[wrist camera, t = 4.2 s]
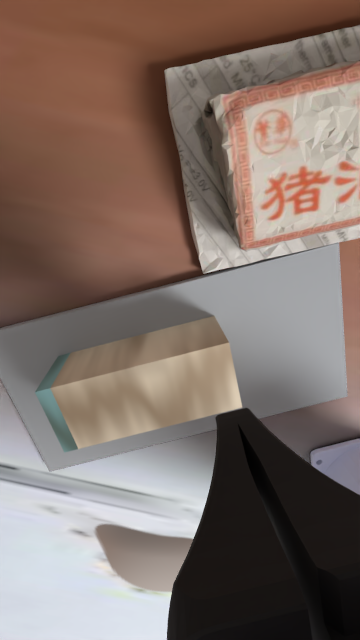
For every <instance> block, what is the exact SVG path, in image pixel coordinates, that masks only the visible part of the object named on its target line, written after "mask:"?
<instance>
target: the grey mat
mask: <svg viewBox="0 0 360 640" xmlns="http://www.w3.org/2000/svg"><path fill="white" fill-rule="evenodd" d="M212 316H215V318H216V320H217V322H218V323H219V325H220V327H221V329H222V331H223V332H224V334H225V336H226V338H227V340H228V341H229V345H230V349H231V354H232V359H233V364H234V369H235V374H236V379H237V383H238V388H239V393H240V398H241V403H242V408H238V409H234V410H231V411H235V410H239V409H243V408H249V409H250V410H251V411H252V413H253V414H254V415H255V416H256V417H257V418H258V419H260V418H264V417H268V416H272V415H276V414H280V413H284V412H288V411H292V410H296V409H299V408H303V407H307V406H311V405H315V404H319V403H323V402H327V401H331V400H335V399H339V398H343V397H347V379H346V361H345V343H344V325H343V307H342V289H341V272H340V254H339V243H334V244H330V245H326V246H322V247H317V248H313V249H309V250H304V251H300V252H296V253H291V254H287V255H282V256H278V257H273V258H268V259H265V260H261V261H257V262H253V263H249V264H245V265H241V266H238V267H234V268H230V269H226V270H222V271H218V272H214V273H211V274H207V275H203V276H199V277H195V278H191V279H187V280H183V281H180V282H176V283H172V284H168V285H164V286H160V287H156V288H153V289H149V290H145V291H141V292H137V293H133V294H129V295H126V296H122V297H118V298H114V299H110V300H106V301H102V302H98V303H95V304H91V305H87V306H83V307H79V308H75V309H71V310H68V311H64V312H60V313H56V314H52V315H48V316H44V317H41V318H37V319H33V320H29V321H25V322H21V323H17V324H13V325H10V326H6V327H2V328H0V379H1V380H2V382H3V384H4V386H5V388H6V390H7V392H8V394H9V396H10V397H11V399H12V401H13V403H14V405H15V407H16V409H17V411H18V413H19V415H20V416H21V418H22V420H23V422H24V424H25V426H26V428H27V430H28V432H29V433H30V435H31V437H32V439H33V441H34V443H35V445H36V447H37V449H38V451H39V452H40V454H41V456H42V458H43V460H44V462H45V464H46V466H47V468H48V470H49V471H54V470H58V469H62V468H66V467H70V466H74V465H78V464H82V463H86V462H90V461H94V460H98V459H102V458H106V457H110V456H114V455H118V454H122V453H126V452H130V451H133V450H137V449H141V448H145V447H149V446H153V445H157V444H161V443H165V442H169V441H173V440H177V439H181V438H185V437H189V436H193V435H197V434H201V433H205V432H209V431H213V430H216V429H217V424H216V419H215V418H216V416H217V415H219V414H223V413H227V412H231V411H227V412H223V413H219V414H215V415H211V416H207V417H203V418H199V419H195V420H191V421H187V422H183V423H179V424H175V425H171V426H167V427H163V428H160V429H156V430H152V431H148V432H144V433H140V434H136V435H132V436H128V437H124V438H120V439H116V440H112V441H108V442H104V443H100V444H96V445H92V446H89V447H85V448H81V449H77V450H73V451H69V452H65V453H64V451H63V449H62V447H61V445H60V443H59V441H58V439H57V437H56V435H55V432H54V430H53V428H52V426H51V424H50V422H49V420H48V418H47V416H46V414H45V412H44V410H43V408H42V406H41V404H40V402H39V400H38V398H37V396H36V394H35V391H36V390H37V388H38V386H39V385H40V383H41V382H42V380H43V379H44V377H45V376H46V374H47V373H48V371H49V370H50V368H51V366H52V365H53V363H54V362H55V360H56V359H57V357H58V356H60V355H64V354H68V353H72V352H76V351H80V350H83V349H87V348H91V347H95V346H99V345H103V344H107V343H111V342H115V341H118V340H122V339H126V338H130V337H134V336H138V335H142V334H146V333H150V332H153V331H157V330H161V329H165V328H169V327H173V326H177V325H181V324H185V323H188V322H192V321H196V320H200V319H204V318H208V317H212Z"/></svg>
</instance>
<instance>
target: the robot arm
mask: <svg viewBox="0 0 360 640" xmlns="http://www.w3.org/2000/svg"><path fill="white" fill-rule="evenodd" d="M215 419H216V424H217V445H216V456H215V463H214V469H213V476H212V481H211V485H210V490H209V494H208V498H207V501H206V505H205V508H204V511H203V515H202V518H201V521H200V524H199V526H198V529H197V532H196V534H195V537H194V539H193V542H192V544H191V547H190V550H189V552H188V554H187V557H186V559H185V561H184V563H183V565H182V567H181V569H180V571H179V574H178V575H177V578H176V580H175V582H174V584H173V590H172V595H171V601H170V608H169V615H168V629H167V640H360V438H359V439H355V440H351V441H347V442H343V443H339V444H335V445H331V446H327V447H323V448H319V449H315V450H313V451H312V452H311V454H310V457H311V465H310V464H309V463H308V462H306V461H305V460H304V459H302V458H301V457H300V456H298V455H297V454H296V453H295V452H293V451H292V450H291V449H290V448H288V447H287V446H286V445H285V444H284V443H283V442H281V441H280V440H279V439H278V438H277V437H276V436H275V435H274V434H273V433H272V432H270V431H269V430H268V429H267V428H266V427H265V426H264V425H263V424H262V423H261V422H260V420H259V419H258V418H257V417H256V416H255V415H254V414H253V413H252V411H251V410H250V409H249V408H243V409H239V410H235V411H231V412H227V413H223V414H219V415H217V416H216V418H215ZM317 460H318V461H317Z"/></svg>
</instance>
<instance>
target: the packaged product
mask: <svg viewBox="0 0 360 640" xmlns="http://www.w3.org/2000/svg"><path fill="white" fill-rule="evenodd" d="M164 72H165V81H166V90H167V99H168V108H169V114H170V118H171V123H172V127H173V131H174V135H175V139H176V144H177V148H178V152H179V156H180V161H181V170H182V178H183V186H184V192H185V198H186V204H187V209H188V215H189V221H190V226H191V232H192V236H193V240H194V243H195V247H196V250H197V254H198V257H199V260H200V264H201V267H202V271H203V274H204V273H208V272H212V271H216V270H221V269H225V268H230V267H237V266H241V265H245V264H249V263H253V262H257V261H260V260H263V259H268V258H273V257H278V256H282V255H287V254H291V253H296V252H300V251H304V250H309V249H313V248H317V247H322V246H326V245H330V244H334V243H338V242H343V241H349V240H353V239H357V238H360V25H358V26H354V27H351V28H344V29H339V30H335V31H332V32H328V33H323V34H319V35H316V36H311V37H306V38H301V39H297V40H294V41H290V42H287V43H282V44H276V45H270V46H265V47H261V48H256V49H252V50H247V51H244V52H240V53H236V54H230V55H225V56H221V57H217V58H214V59H208V60H203V61H201V62H198V63H194V64H189V65H185V66H179V67H172V68H168V69H166V70H164Z"/></svg>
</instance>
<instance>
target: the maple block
mask: <svg viewBox="0 0 360 640" xmlns="http://www.w3.org/2000/svg"><path fill="white" fill-rule="evenodd" d="M35 394H36V396H37V398H38V400H39V402H40V404H41V406H42V408H43V410H44V412H45V414H46V416H47V418H48V420H49V422H50V424H51V426H52V428H53V430H54V432H55V435H56V437H57V439H58V441H59V443H60V445H61V447H62V449H63V451H64V453H65V452H69V451H73V450H77V449H81V448H85V447H89V446H92V445H96V444H100V443H104V442H108V441H112V440H116V439H120V438H124V437H128V436H132V435H136V434H140V433H144V432H148V431H152V430H156V429H160V428H163V427H167V426H171V425H175V424H179V423H183V422H187V421H191V420H195V419H199V418H203V417H207V416H211V415H215V414H219V413H223V412H227V411H231V410H234V409H238V408H242V403H241V398H240V393H239V388H238V383H237V379H236V374H235V369H234V364H233V359H232V354H231V349H230V345H229V341H228V340H227V338H226V336H225V334H224V332H223V331H222V329H221V327H220V325H219V323H218V322H217V320H216V318H215V316H212V317H208V318H204V319H200V320H196V321H192V322H188V323H185V324H181V325H177V326H173V327H169V328H165V329H161V330H157V331H153V332H150V333H146V334H142V335H138V336H134V337H130V338H126V339H122V340H118V341H115V342H111V343H107V344H103V345H99V346H95V347H91V348H87V349H83V350H80V351H76V352H72V353H68V354H64V355H60V356H58V357H57V359H56V360H55V362H54V363H53V365H52V366H51V368H50V370H49V371H48V373H47V374H46V376H45V377H44V379H43V380H42V382H41V383H40V385H39V386H38V388H37V390H36V391H35Z"/></svg>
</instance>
